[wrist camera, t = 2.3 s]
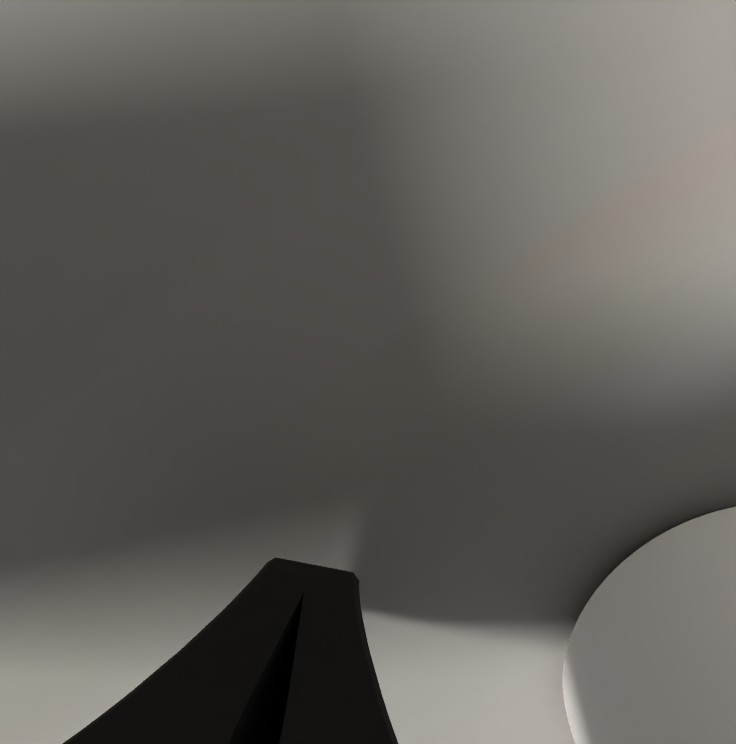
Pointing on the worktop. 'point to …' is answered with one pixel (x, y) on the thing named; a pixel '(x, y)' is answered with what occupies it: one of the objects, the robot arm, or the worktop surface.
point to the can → (660, 643)
